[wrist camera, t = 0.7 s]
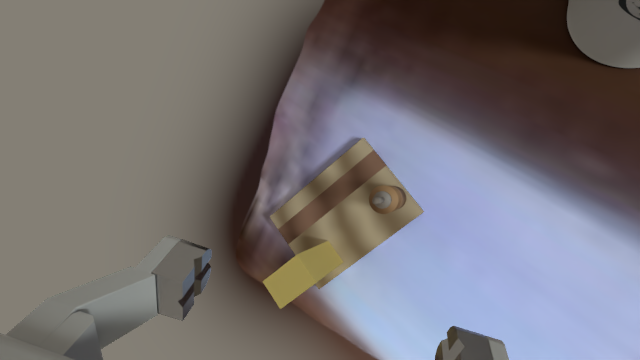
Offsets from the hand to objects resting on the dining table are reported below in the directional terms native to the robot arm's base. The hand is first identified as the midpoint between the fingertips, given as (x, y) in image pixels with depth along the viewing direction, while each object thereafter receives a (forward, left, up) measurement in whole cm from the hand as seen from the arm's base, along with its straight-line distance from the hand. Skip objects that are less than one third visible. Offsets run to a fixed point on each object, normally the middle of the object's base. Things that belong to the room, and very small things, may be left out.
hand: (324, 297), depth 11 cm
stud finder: (+15, -5, -40) cm, 43 cm away
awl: (0, -4, -40) cm, 40 cm away
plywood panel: (+8, -8, -41) cm, 43 cm away
